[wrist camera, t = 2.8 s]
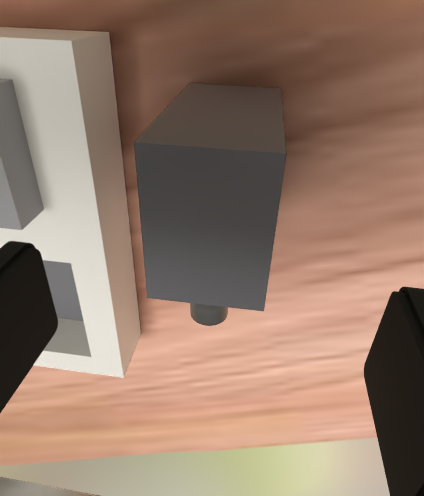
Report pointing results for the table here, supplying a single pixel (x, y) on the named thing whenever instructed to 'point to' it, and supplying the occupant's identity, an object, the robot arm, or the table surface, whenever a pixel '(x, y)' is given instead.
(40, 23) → the table surface
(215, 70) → the table surface
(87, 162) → the power strip
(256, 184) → the plug
